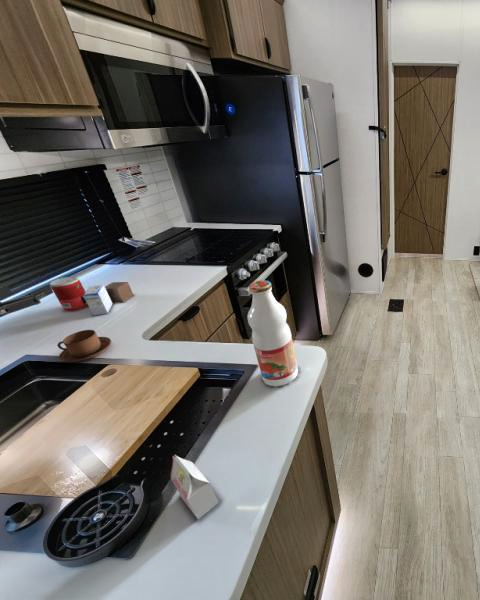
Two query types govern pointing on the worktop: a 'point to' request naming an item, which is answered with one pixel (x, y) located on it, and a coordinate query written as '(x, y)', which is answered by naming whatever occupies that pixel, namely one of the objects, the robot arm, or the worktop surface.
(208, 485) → the white carton box
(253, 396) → the worktop surface
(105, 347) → the cup and saucer
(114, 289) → the walnut block
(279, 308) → the fruit juice
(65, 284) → the canned food
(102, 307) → the medicine box
